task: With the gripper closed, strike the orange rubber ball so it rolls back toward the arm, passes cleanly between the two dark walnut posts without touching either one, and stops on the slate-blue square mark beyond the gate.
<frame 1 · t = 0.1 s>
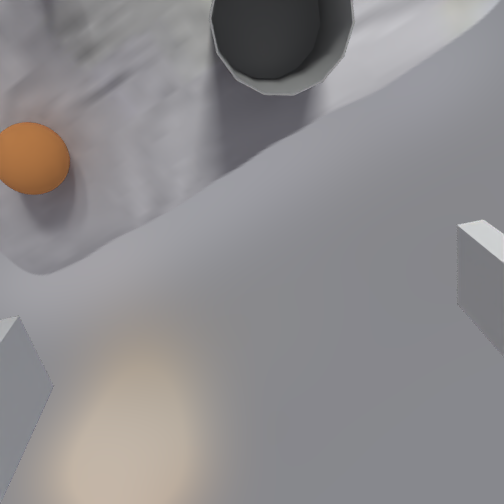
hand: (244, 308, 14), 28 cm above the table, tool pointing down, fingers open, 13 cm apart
cup: (265, 22, 36), on the table
ball: (31, 159, 37), on the table
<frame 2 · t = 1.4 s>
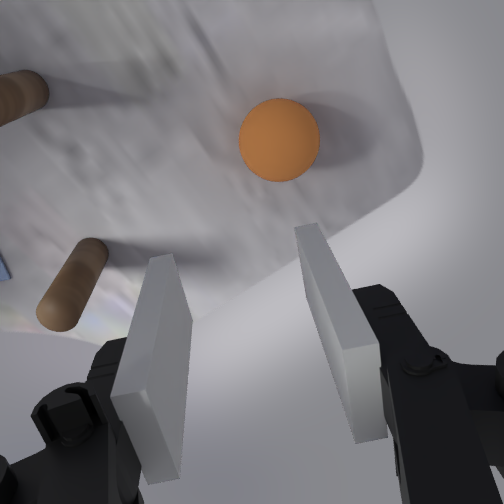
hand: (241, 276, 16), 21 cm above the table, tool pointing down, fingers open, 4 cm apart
post 1: (91, 252, 38), on the table
ball: (279, 140, 32), on the table
post 2: (29, 90, 32), on the table
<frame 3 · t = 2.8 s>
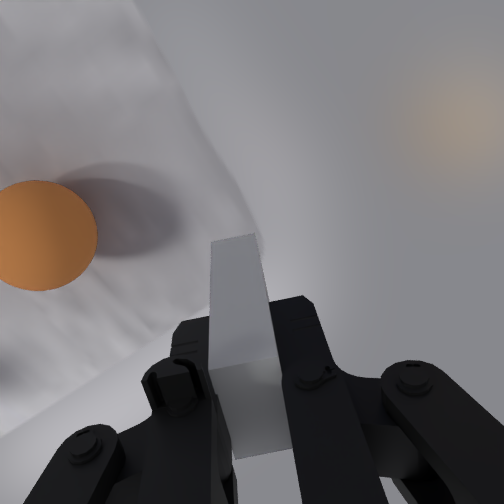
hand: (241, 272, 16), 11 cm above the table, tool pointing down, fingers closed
ball: (40, 235, 24), on the table
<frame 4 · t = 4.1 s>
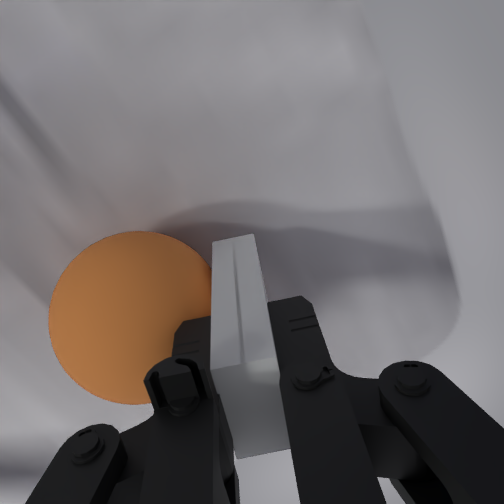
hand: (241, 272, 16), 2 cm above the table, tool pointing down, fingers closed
ball: (140, 315, 15), on the table
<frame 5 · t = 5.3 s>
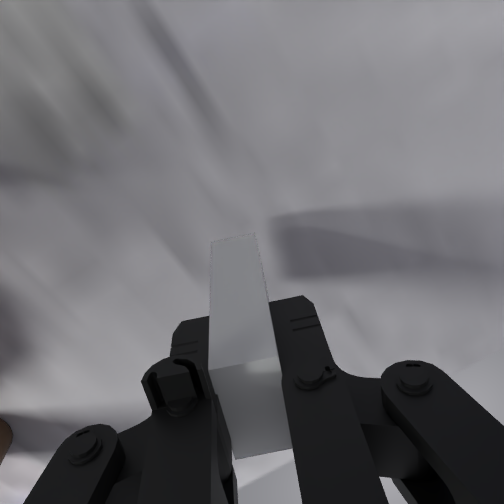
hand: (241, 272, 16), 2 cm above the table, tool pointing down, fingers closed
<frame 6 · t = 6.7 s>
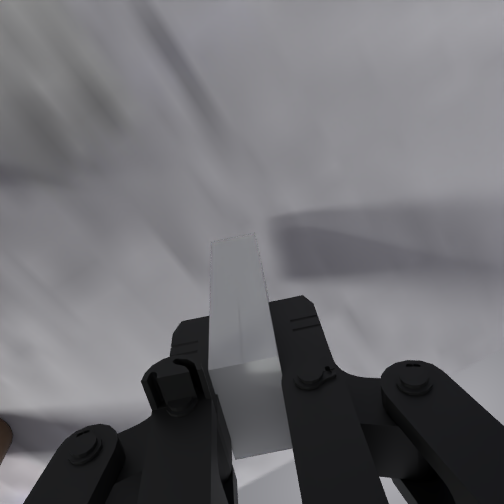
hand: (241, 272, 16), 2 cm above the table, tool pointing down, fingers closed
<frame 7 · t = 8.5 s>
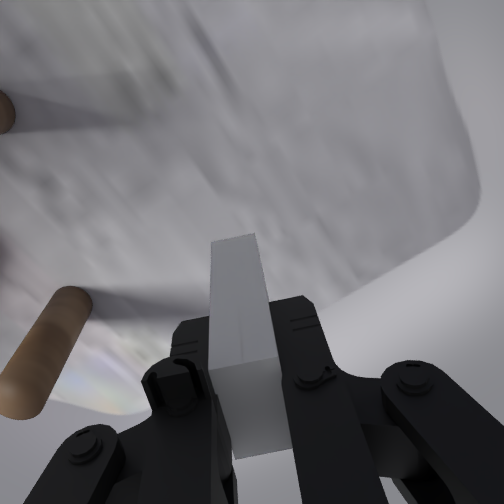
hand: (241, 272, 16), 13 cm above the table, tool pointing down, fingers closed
post 1: (72, 303, 31), on the table
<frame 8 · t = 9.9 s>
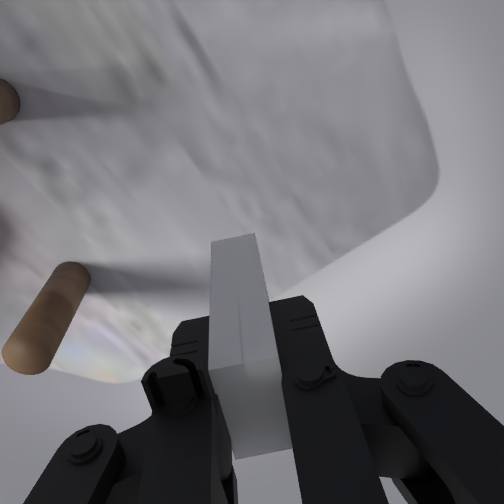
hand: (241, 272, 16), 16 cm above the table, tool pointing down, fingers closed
post 1: (72, 277, 34), on the table
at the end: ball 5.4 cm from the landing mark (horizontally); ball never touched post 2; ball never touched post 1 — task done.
